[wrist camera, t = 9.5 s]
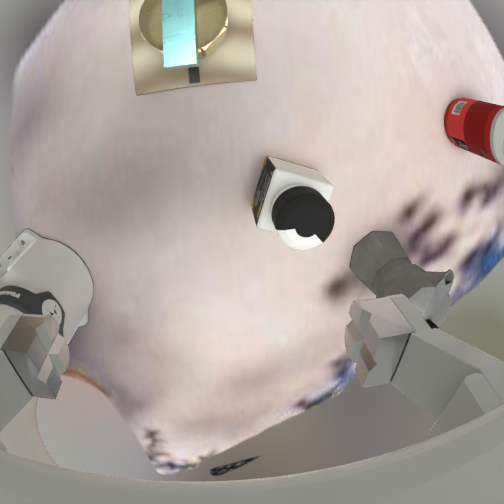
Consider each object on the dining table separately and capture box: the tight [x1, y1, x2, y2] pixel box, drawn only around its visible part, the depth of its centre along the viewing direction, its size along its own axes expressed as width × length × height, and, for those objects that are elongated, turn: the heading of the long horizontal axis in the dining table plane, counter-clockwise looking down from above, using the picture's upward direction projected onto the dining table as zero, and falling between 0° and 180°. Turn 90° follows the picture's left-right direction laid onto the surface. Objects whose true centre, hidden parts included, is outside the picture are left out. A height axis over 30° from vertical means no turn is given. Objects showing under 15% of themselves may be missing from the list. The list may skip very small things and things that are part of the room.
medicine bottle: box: [252, 157, 335, 250], centre depth 36 cm, size 7×7×12 cm
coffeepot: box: [350, 231, 454, 329], centre depth 40 cm, size 15×9×18 cm, turn 155°
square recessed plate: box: [129, 0, 257, 95], centre depth 27 cm, size 14×14×6 cm
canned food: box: [445, 98, 504, 166], centre depth 33 cm, size 8×8×11 cm
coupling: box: [139, 0, 228, 70], centre depth 23 cm, size 8×11×10 cm
